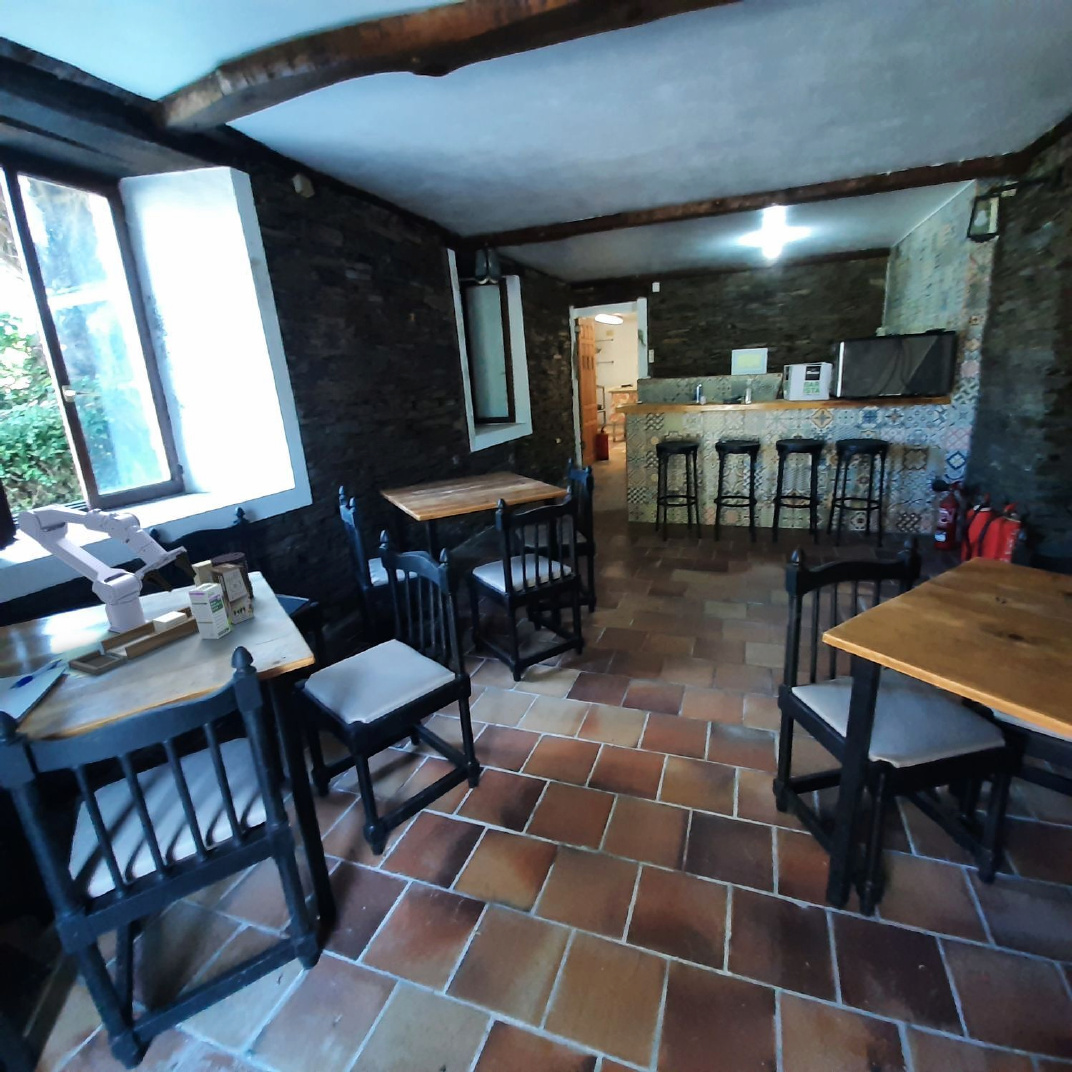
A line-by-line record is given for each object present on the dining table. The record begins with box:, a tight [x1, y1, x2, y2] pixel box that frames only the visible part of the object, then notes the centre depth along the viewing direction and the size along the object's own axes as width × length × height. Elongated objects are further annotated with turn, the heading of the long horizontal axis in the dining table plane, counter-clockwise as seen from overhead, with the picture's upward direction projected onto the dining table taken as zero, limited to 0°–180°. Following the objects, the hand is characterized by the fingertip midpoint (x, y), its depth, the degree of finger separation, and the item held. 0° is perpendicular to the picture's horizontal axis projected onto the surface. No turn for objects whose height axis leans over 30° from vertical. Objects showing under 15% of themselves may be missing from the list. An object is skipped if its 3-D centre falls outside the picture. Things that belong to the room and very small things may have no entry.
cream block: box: [152, 610, 188, 633], centre depth 158 cm, size 6×6×4 cm
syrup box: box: [187, 583, 234, 640], centre depth 153 cm, size 6×6×14 cm
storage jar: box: [210, 551, 255, 601], centre depth 178 cm, size 10×10×15 cm
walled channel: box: [100, 605, 199, 661], centre depth 156 cm, size 12×24×4 cm, turn 154°
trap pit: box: [67, 648, 128, 676], centre depth 142 cm, size 13×7×2 cm, turn 64°
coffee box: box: [207, 563, 255, 625], centre depth 163 cm, size 9×6×16 cm
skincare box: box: [191, 559, 212, 588], centre depth 182 cm, size 6×4×12 cm
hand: (183, 583), depth 157 cm, fingers open, 7 cm apart
